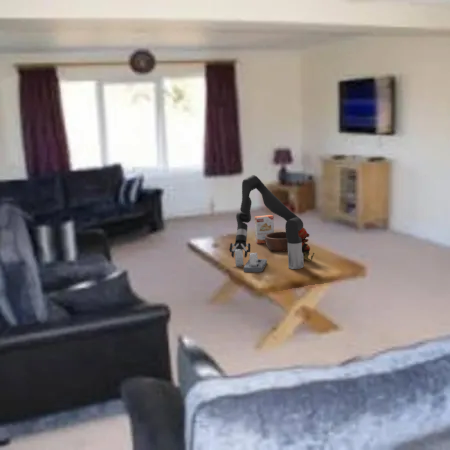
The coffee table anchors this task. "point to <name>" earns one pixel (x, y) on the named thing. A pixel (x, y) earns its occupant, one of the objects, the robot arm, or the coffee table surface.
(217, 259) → the coffee table surface
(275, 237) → the wooden bowl
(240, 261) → the block
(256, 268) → the grey square hole board
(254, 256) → the block
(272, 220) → the cracker box
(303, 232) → the red flower plant
